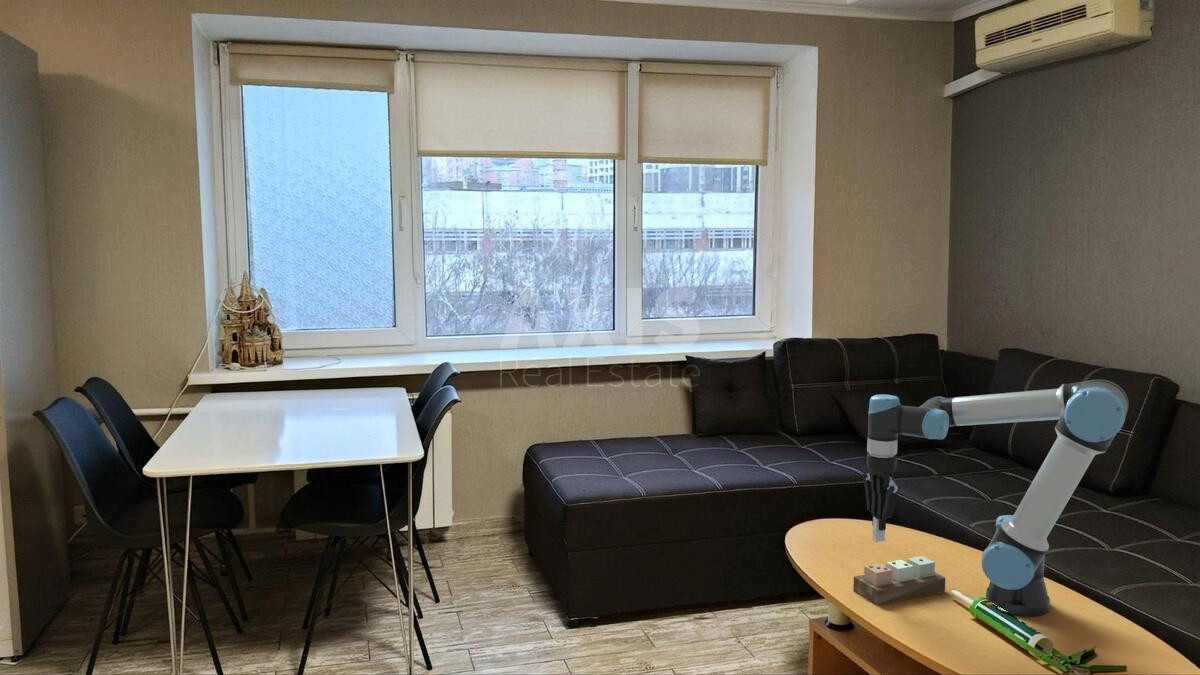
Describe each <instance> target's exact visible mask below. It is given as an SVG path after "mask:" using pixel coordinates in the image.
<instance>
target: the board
mask: <svg viewBox="0 0 1200 675" xmlns="http://www.w3.org/2000/svg"><path fill="white" fill-rule="evenodd" d="M852 587H853V589H852V590H853V592H854V593H856V594H858V595H860V596H861V597H863V598H864V599H866V600H868V601H869V602H871V603H873V604H874V605H876V606H879V605H885V604H890V603H894V602H899V601H900V602H901V601H905V600H910V599H915V598H919V597H921V598H922V597H925V596H930V595H935V594H936V595H937V594H940V593H945V592H946V577H945V576H943V575H941V574H940V573H937V572H936V571H935V573H934V576H930V577H924V578H917V577H916V576H914V575H913V580H908V581H903V582H896V581H894V580H892V584H887V585H882V586H874V585H872V584H870V583H869V582H867V581H865V580H864V574H861V575H855V576H853V586H852Z"/></svg>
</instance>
